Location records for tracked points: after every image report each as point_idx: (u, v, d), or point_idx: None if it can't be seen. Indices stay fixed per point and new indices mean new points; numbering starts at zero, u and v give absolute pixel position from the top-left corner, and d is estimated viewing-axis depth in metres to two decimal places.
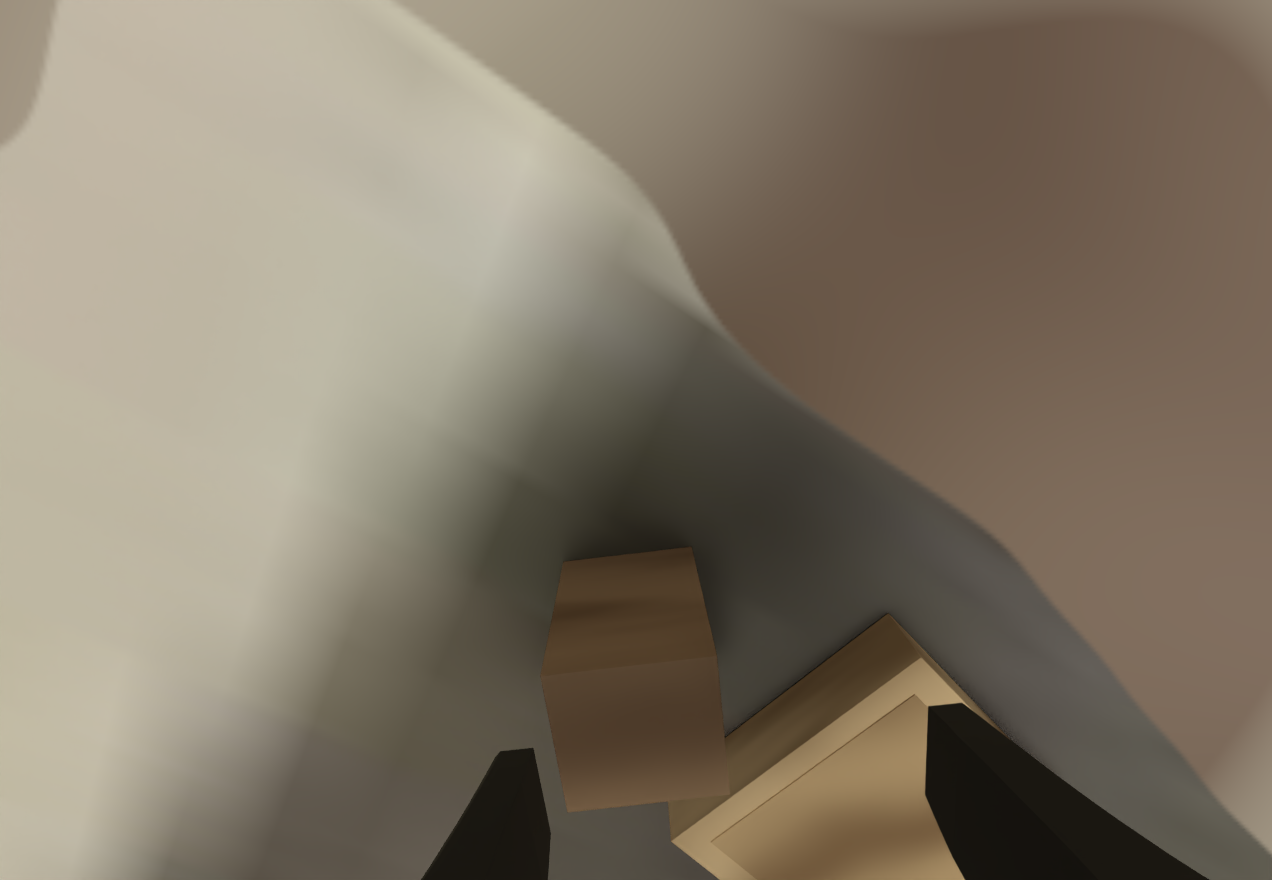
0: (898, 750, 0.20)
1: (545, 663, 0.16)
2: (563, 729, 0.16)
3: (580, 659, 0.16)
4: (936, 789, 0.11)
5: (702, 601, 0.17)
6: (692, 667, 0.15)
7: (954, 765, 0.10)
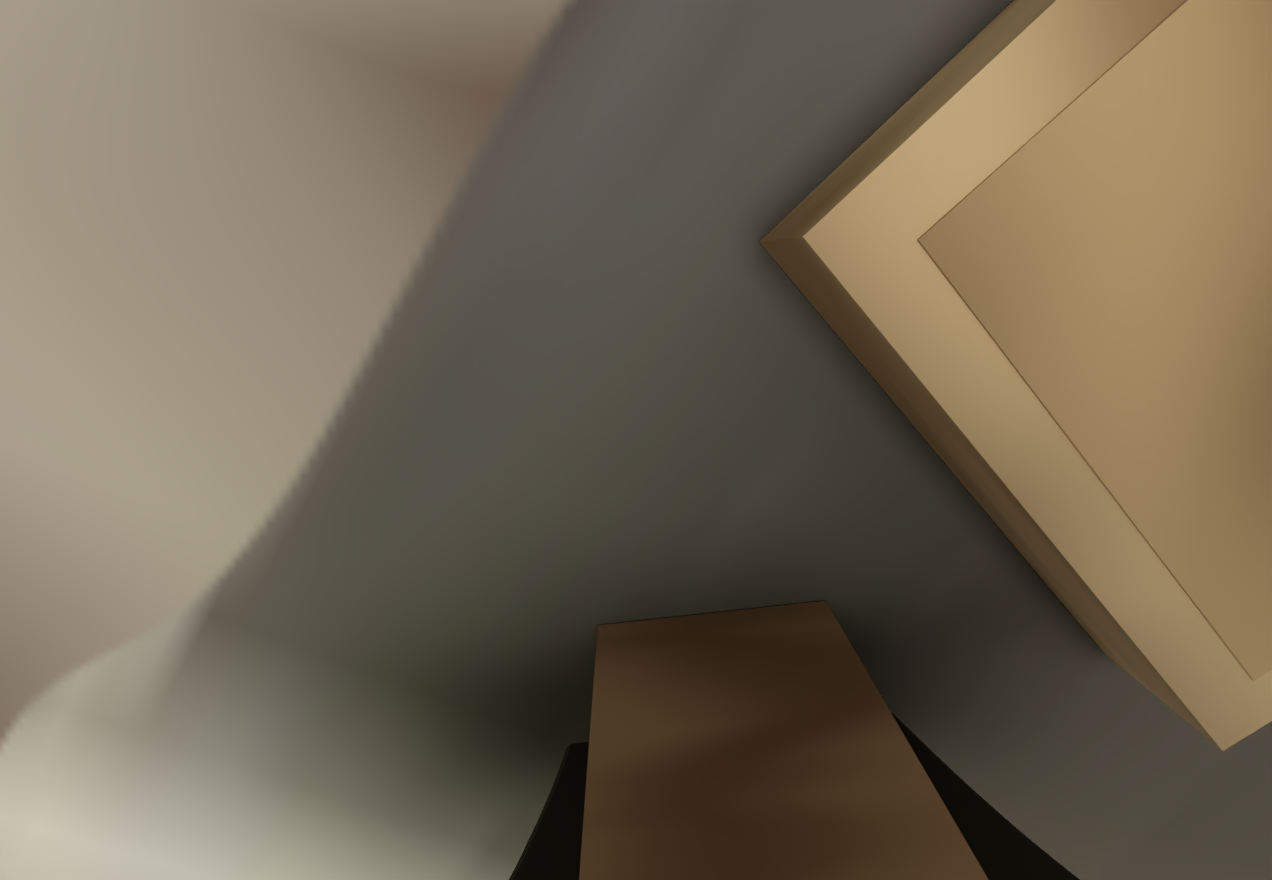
0: (1093, 263, 0.07)
1: None
2: None
3: None
4: None
5: (587, 773, 0.08)
6: None
7: None
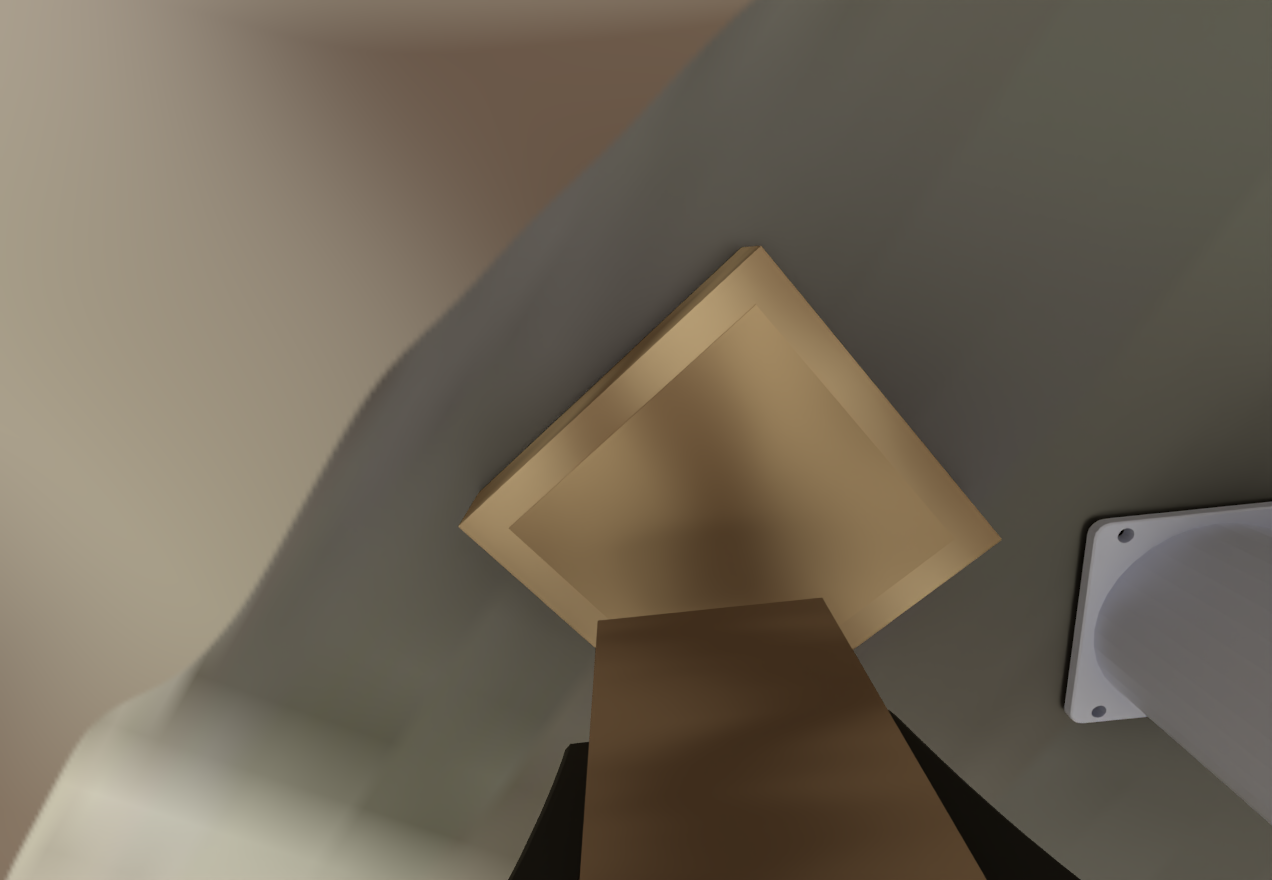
0: (589, 537, 0.17)
1: None
2: None
3: None
4: None
5: None
6: None
7: None
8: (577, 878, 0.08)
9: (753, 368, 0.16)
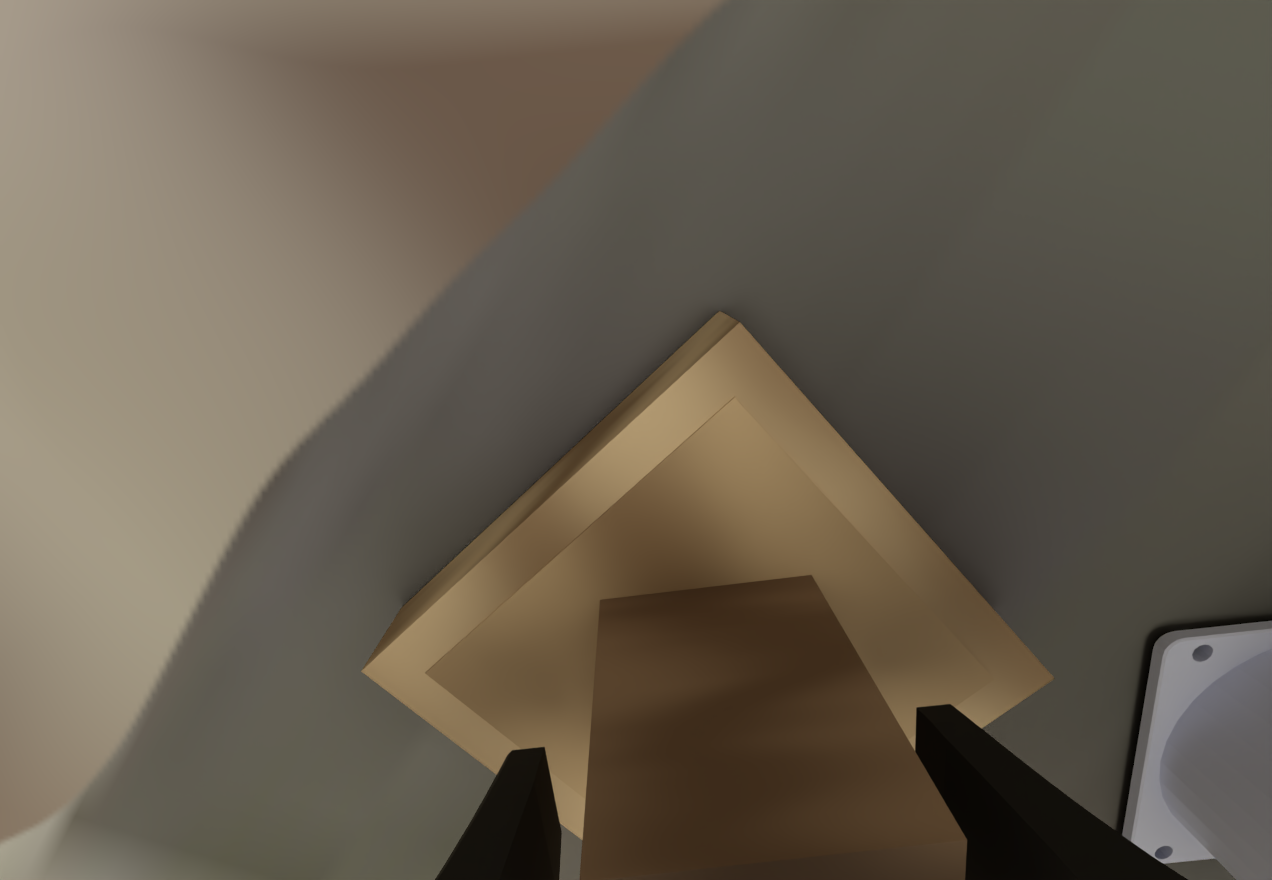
0: (527, 682, 0.13)
1: None
2: None
3: None
4: None
5: (591, 724, 0.09)
6: None
7: (941, 767, 0.10)
8: None
9: (733, 476, 0.12)
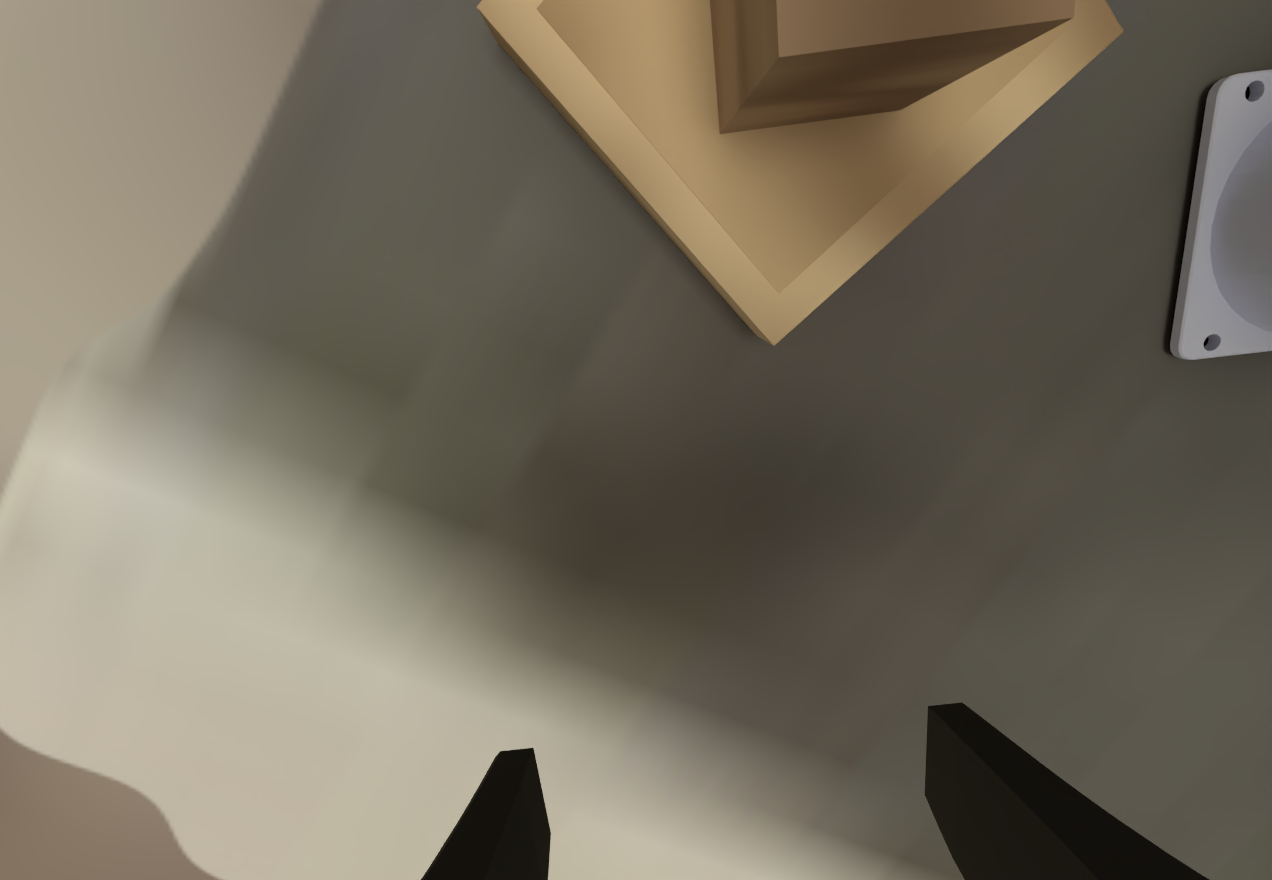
0: (632, 22, 0.14)
1: (771, 62, 0.10)
2: (890, 17, 0.09)
3: None
4: (936, 789, 0.11)
5: None
6: None
7: (954, 765, 0.10)
8: None
9: None
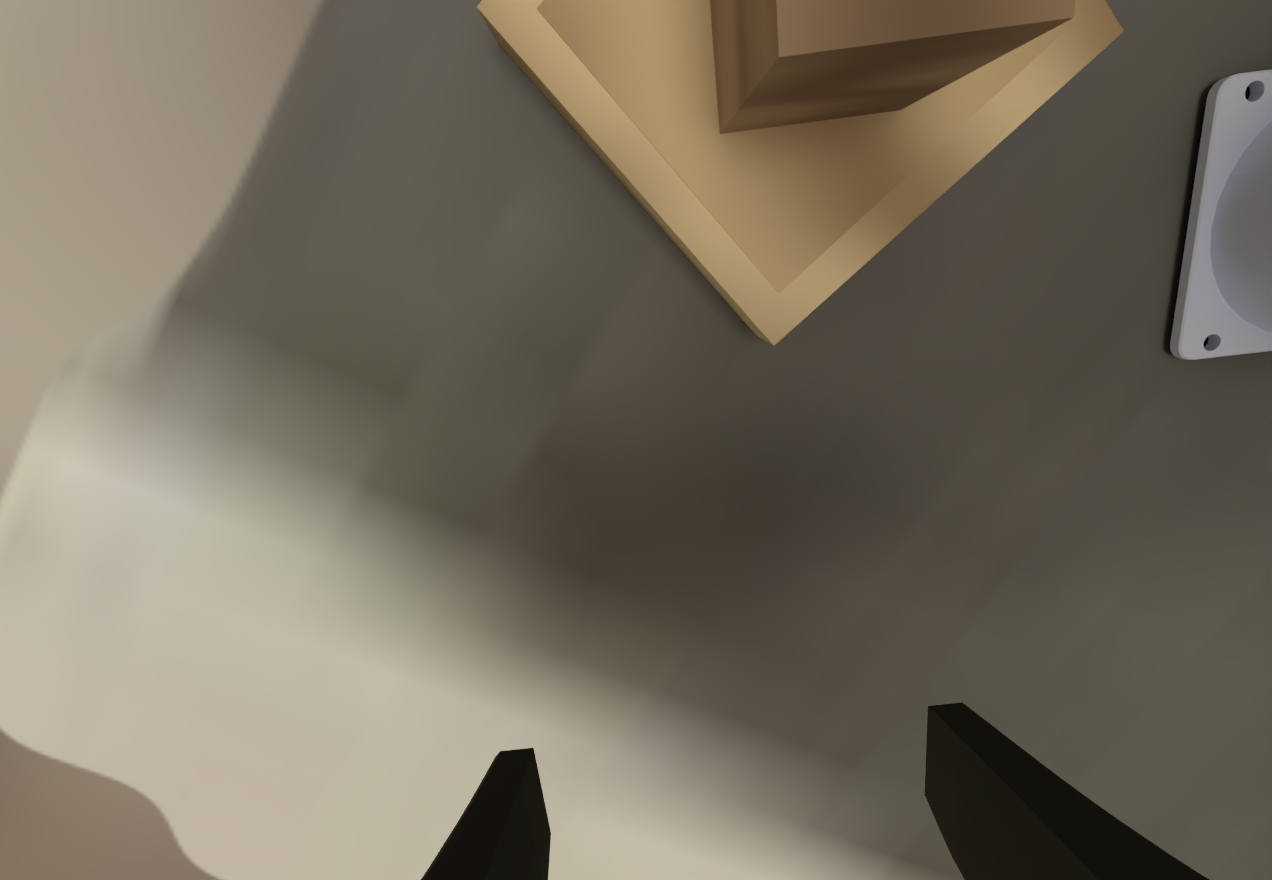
0: (632, 22, 0.14)
1: (771, 62, 0.10)
2: (890, 17, 0.09)
3: None
4: (936, 789, 0.11)
5: None
6: None
7: (954, 765, 0.10)
8: None
9: None
